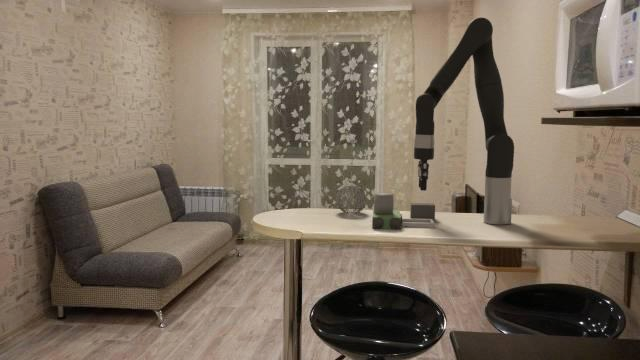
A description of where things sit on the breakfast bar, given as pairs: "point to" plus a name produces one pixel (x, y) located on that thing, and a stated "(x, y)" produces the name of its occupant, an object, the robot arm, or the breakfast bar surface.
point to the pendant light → (351, 193)
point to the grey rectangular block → (422, 211)
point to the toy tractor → (393, 214)
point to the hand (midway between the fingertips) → (422, 189)
